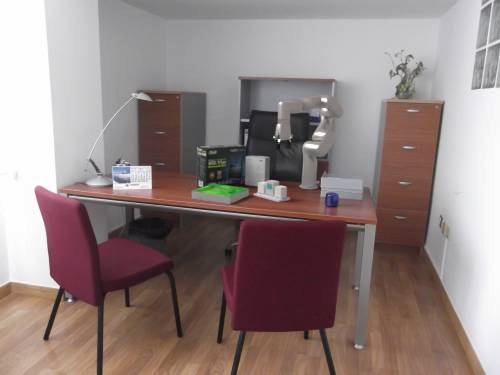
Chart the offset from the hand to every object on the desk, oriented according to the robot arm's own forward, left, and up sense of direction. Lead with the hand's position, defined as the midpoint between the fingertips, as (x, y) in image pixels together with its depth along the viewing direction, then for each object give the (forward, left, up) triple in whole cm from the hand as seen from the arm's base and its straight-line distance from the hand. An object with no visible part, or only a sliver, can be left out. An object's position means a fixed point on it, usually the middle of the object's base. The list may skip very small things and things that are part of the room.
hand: (282, 149), depth 257 cm
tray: (+40, -12, -28) cm, 50 cm away
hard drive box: (-2, -24, -28) cm, 37 cm away
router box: (+17, -39, -28) cm, 51 cm away
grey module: (+15, +7, -26) cm, 31 cm away
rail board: (+16, +7, -28) cm, 32 cm away
